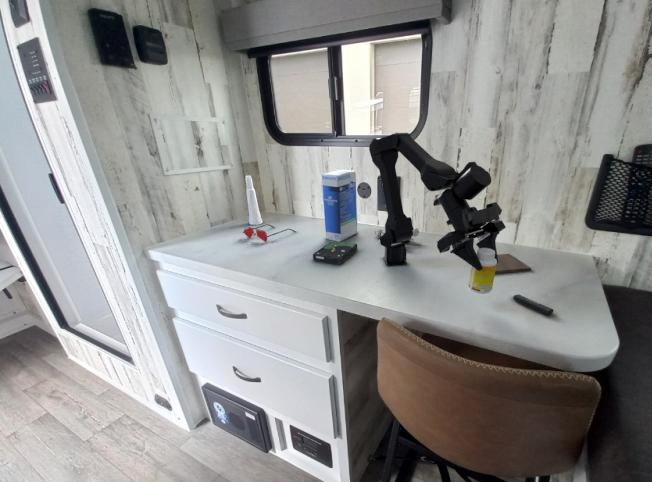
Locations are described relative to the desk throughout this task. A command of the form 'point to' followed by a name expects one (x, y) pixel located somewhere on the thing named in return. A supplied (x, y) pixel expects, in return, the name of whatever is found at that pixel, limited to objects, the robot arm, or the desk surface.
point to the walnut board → (510, 264)
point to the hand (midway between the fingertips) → (488, 267)
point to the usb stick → (533, 304)
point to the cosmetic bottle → (252, 203)
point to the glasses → (259, 232)
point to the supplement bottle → (483, 272)
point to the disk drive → (335, 252)
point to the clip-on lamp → (415, 233)
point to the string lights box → (340, 204)
